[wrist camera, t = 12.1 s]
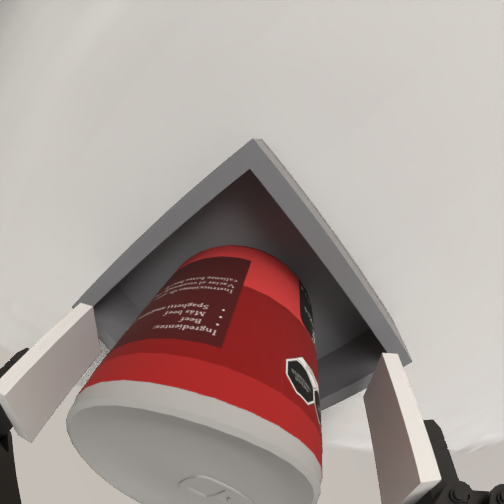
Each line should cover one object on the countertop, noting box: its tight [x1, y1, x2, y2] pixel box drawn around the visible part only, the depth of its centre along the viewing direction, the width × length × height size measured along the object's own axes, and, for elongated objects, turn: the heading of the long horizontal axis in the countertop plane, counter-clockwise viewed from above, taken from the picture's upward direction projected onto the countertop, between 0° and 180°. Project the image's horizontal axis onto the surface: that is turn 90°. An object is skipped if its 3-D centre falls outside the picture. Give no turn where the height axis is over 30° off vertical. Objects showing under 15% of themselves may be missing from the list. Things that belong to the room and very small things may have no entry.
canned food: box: [66, 245, 322, 504], centre depth 12 cm, size 8×8×11 cm
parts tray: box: [72, 139, 412, 411], centre depth 16 cm, size 13×13×4 cm
